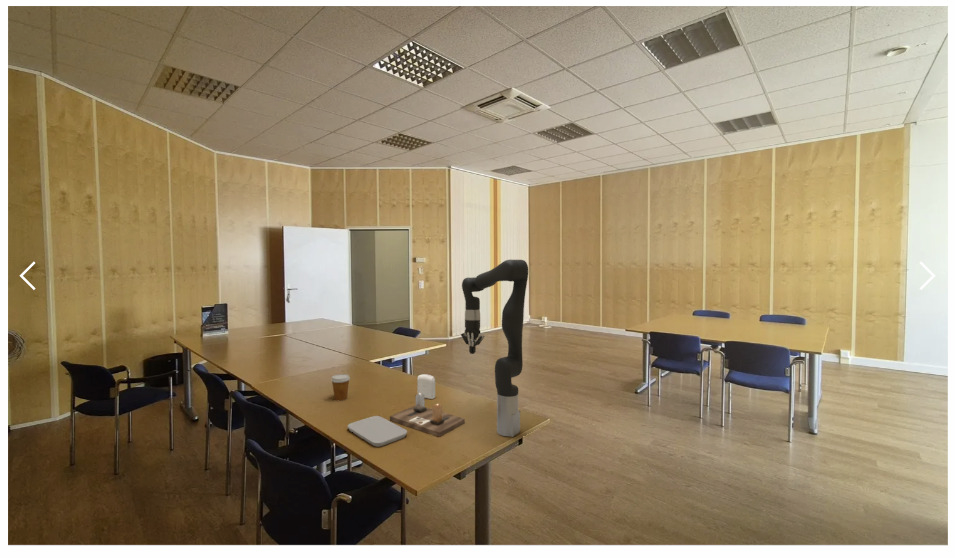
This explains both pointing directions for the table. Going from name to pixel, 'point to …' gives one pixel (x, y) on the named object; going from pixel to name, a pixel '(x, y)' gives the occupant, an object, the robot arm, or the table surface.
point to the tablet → (377, 430)
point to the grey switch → (420, 402)
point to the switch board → (427, 421)
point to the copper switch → (437, 414)
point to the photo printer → (426, 385)
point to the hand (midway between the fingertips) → (472, 353)
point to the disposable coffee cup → (340, 386)
